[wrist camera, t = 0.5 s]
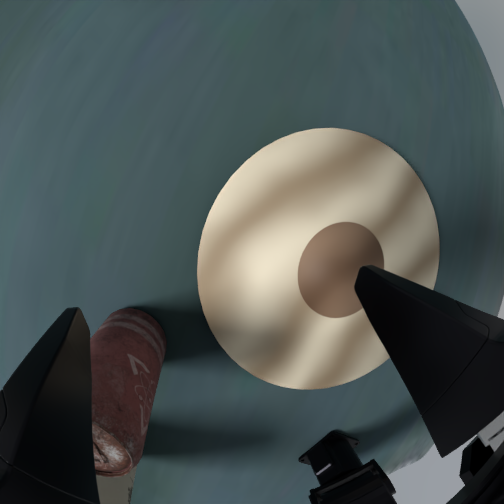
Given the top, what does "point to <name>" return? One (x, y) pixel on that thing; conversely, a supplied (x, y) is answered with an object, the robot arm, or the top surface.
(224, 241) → the turntable
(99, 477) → the travel mug
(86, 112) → the top surface
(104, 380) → the can
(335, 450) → the robot arm
